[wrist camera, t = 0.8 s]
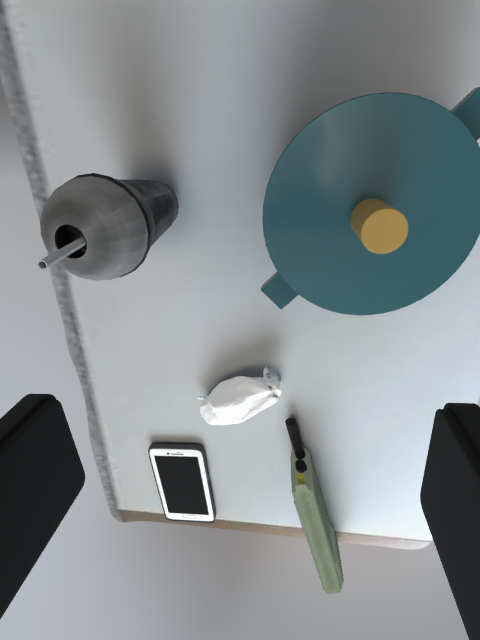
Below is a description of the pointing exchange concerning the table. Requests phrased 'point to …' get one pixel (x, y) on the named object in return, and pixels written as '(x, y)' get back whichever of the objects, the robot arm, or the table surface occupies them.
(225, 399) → the white tied bag
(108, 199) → the beverage cup
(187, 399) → the table surface
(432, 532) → the robot arm
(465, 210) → the lid
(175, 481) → the cell phone
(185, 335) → the table surface
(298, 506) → the handheld radio
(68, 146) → the table surface
